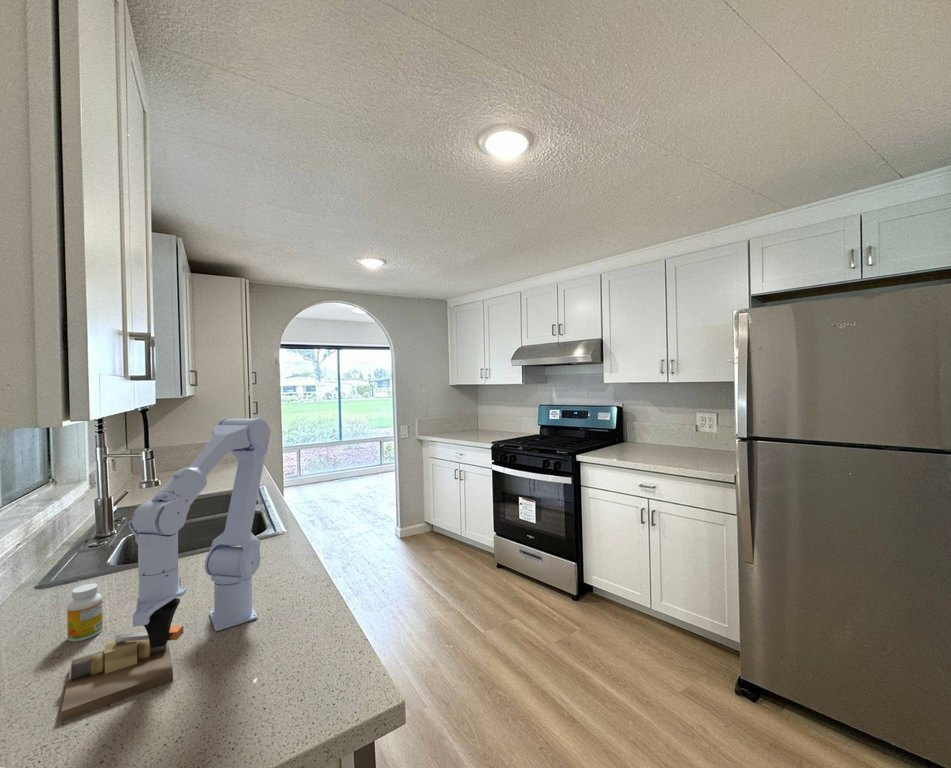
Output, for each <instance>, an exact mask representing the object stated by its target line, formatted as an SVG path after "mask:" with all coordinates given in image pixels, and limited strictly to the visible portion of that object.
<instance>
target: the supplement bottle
mask: <svg viewBox="0 0 951 768" xmlns="http://www.w3.org/2000/svg"><path fill="white" fill-rule="evenodd" d="M98 591H99V585H98V584H97V583H88V584H82V585H80V586H78V587H75V588H74V589H72V591H71V600H70V601H69V602H68V603H67V606H66V607H67V609H66V611H67V612H66V613H67V614H66V615H67V616H66V617H67V624H66V625H67V626H66V627H67V640H68V641H69V642H73V643H74V642H81V641H85V640H89V639H91V638H93V637H95V636H96V635H98V634H100V633H101V632H102V630H103V627H104V626H103V623H104V621H103V619H104V618H103V614H104V613H103V596H102V594H101V593H98Z"/></svg>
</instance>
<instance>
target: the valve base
mask: <svg viewBox="0 0 951 768" xmlns="http://www.w3.org/2000/svg"><path fill="white" fill-rule="evenodd" d="M173 681H174V670H173V665H172V657H171V651H170V645H169V641H167V643H166V645H165V646H160V647H154V648H151V646H150V642H149V639H145V640H134V641H125V642H124V643H121V644H116V643H115V639H113V640H111V641H107V642H105V646H104V650H101V651H98V652H95V653H91V654H86V656H82V657H78V658H75V659H72V660H71V663H70V669H69V673H68V676H67V683H66V687H65V692H64V697H63V700H62V701H63V702H62V704H61V705H62V706H61V711H60V713H61V714H60V720H61V721H60V722H63V721H66V720H70V719H71V718H75V717H77V716H79V715H82V714H85V713H88V712H90V711H93V710H96V709H100V708H101V707H104V706H106V705H110V704H113V703H115V702H118V701H121V700H124V699H126V698H129V697H132V696H134V695H137V694H141V693H143V692H145V691H148V690H151V689H153V688H156V687H159V686H162V685H164V684H167V683H170V682H173Z"/></svg>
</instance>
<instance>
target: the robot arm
mask: <svg viewBox="0 0 951 768" xmlns="http://www.w3.org/2000/svg"><path fill="white" fill-rule="evenodd" d="M211 435H212V437H211V438H210V439H209V441H208V442H207V444H206V445H205V446H204V448H203V449H202V450H201V451H200V452H199V454H198V455H197V456H196V458H195V459H194V460H193V462H192V463H191V465H190V466H189V467H182V468H180V469H178V470H175V472H174V473H173V474H172V475H171V476H172V477H171V478H170V479H169V480H168V481H167V483H166V484H165V485H164V486H163V487H162V488H161V489H160V490H159V491H158V492H157V493H155V495H154V496H153V498H152V499H151V500H149V501H146V502H143V503H141V504H140V505H139V506H137V508H135V510H134V511H133V513H132V515H131V519H130V520H129V521H128V528H129V530H130V531H131V532H132V534H133V535H134V537H135V540H134V541H135V542H134V543H136V545H137V547H138V548H137V551H138V552H137V556H138V558H137V560H138V580H137V581H138V597H137V598H136V607H135V611H134V613H133V614H132V627H140V626H143V627H144V629H145V630H146V631H145V632H147V633H148V636H149V642H150V646H151V648H154V647H160V646H165V645H166V643H167V641H168V637H169V631H170V626H171V625H172V621H173V618H174V615H175V613H176V610H177V608H178V607H179V604H180V603H181V601H180V600H181V599H180V597H183V596H184V595H185V594H186V593H187V588H185V587H184V588H183V587H182V588H181V585H182V584H181V582H182V581H181V578H182V577H181V575H179V531H180V530H181V529H182V528H184V525H185V524H186V522H187V517H188V516H187V515H188V513H189V511H190V509H191V505H192V504H193V502H194V501H195V500H196V499H197V497H198V496H199V495H200V494H201V492H202V491H203V490H204V489H205V487H206V486H207V483H208V480H207V476H208V475H209V473H211V472H212V470H213V469H215V467H216V466H217V465H219V463H220V462H221V461H222V460H223V459H224V458H225V457H226V456H227V455H228V454H229V453H230V454H231V455H233V456H234V457H235V458H236V459H237V461H238V463H237V467H236V471H235V477H234V482H233V488H232V492H231V497H230V502H229V506H228V510H227V511H228V512H227V517H226V522H225V526H224V527H225V528H224V530H223V532H222V533H221V534H219V535H218V536H216V538H214V539H213V540H212V543H211V547H210V549H209V551H208V554H207V555H206V557H205V559H204V570H205V572H206V574H207V575H208V576H210V578H211V579H210V580H211V581H212V582H213V585H214V586H213V588H214V591H213V594H214V595H213V596H214V598H213V599H214V600H213V601H214V605H213V606H214V609H213V610H210V611H209V617H210V621H211V622H212V626H213V629H214V631H215V632H218V631H222V630H224V629H228V628H232V627H234V626H237V625H238V626H239V625H241V624H243V623H246V622H250V621H253V620H256V619H258V614H257V613H256V611H255V609H254V608H253V576H254V575H255V573H256V572H257V570H258V569H259V567H260V564H261V561H262V559H261V557H262V556H261V552H260V551H261V549H260V548H261V543H262V542H261V540H260V539H259V538H258V537H257V536H255V535H254V533H253V532H252V529H253V523H254V518H255V513H256V512H255V511H256V506H257V502H258V497H259V491H260V486H261V479H262V475H263V469H264V464H265V457H266V455H267V454H268V448H269V443H270V438H271V437H270V436H271V429H270V427H269V424H268V423H267V420H266V419H264V418H262V417H256V418H254V417H253V418H232V417H231V418H230V417H223V418H222V419H220V420H219V421H218V422H217V424H216V425H215V426H214V427H213V428H212V433H211ZM168 642H169V641H168Z"/></svg>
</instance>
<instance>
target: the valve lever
mask: <svg viewBox="0 0 951 768" xmlns="http://www.w3.org/2000/svg"><path fill="white" fill-rule="evenodd" d="M183 634H184V625H182V624H181V625H174V626H170V631H169V637H168V642H169V641H177V640H178V639H180V638H181V636H183ZM145 639H149V636H148V633H147V631H144V632H141V631H140V632H134V633H133V632H132V633H122V634H119V635H116V636H115V639H114V640H115V643H116V644H121V643H124V642H125V641H134V640H145Z"/></svg>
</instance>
